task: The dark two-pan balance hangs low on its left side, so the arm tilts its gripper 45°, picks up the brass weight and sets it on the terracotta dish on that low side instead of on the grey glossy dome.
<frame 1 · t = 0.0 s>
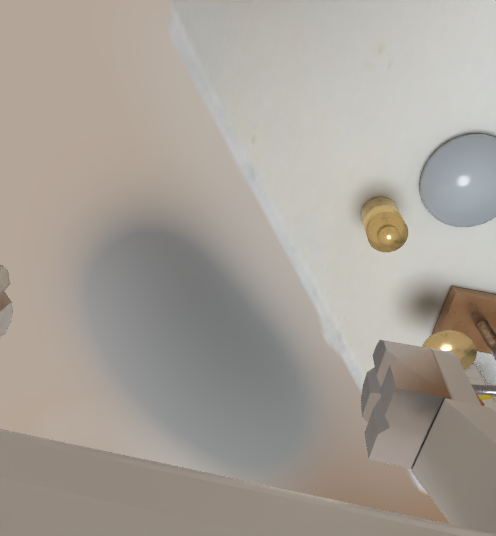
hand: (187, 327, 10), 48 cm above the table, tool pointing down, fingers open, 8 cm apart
grey glossy dome: (467, 180, 54), on the table
ink box: (467, 387, 67), on the table
balance: (477, 318, 62), on the table
brass weight: (379, 213, 57), on the table
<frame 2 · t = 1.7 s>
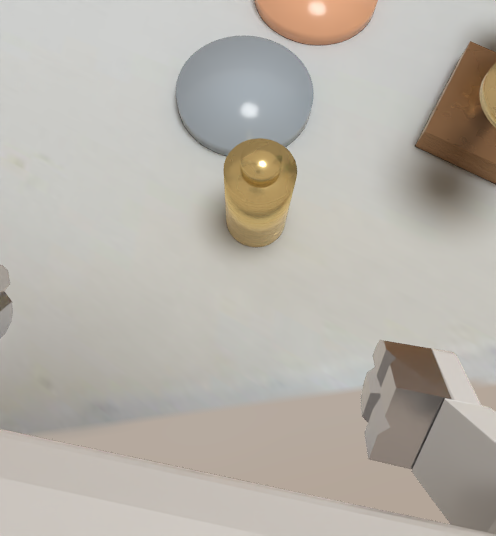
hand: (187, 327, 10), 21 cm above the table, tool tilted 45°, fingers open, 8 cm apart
grey glossy dome: (244, 99, 37), on the table
balance: (483, 121, 37), on the table
brass weight: (255, 219, 34), on the table
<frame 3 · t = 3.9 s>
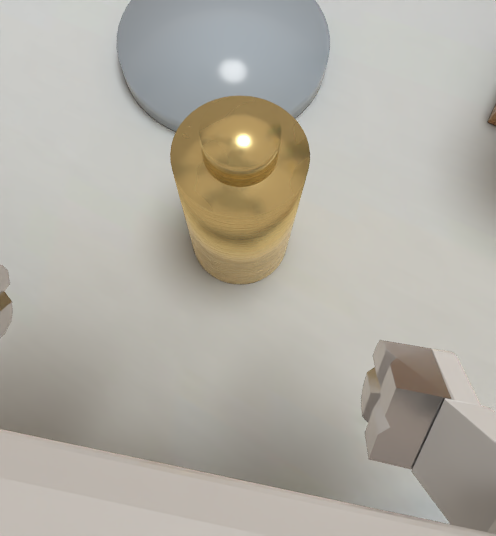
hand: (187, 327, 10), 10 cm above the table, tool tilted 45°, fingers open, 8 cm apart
grey glossy dome: (224, 54, 24), on the table
brass weight: (240, 239, 21), on the table
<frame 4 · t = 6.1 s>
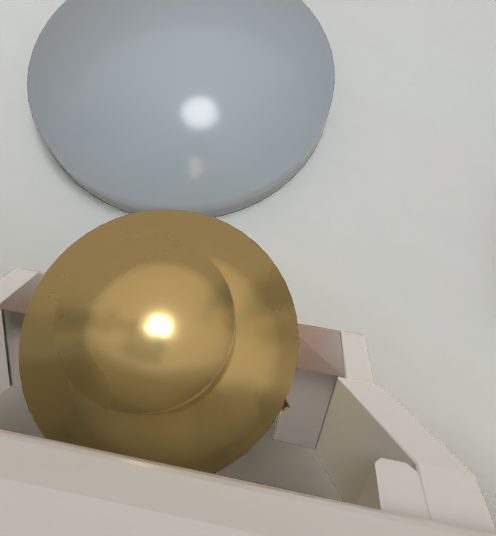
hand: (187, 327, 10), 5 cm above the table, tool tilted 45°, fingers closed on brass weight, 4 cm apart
grey glossy dome: (186, 90, 17), on the table
brass weight: (199, 375, 14), on the table, touching gripper
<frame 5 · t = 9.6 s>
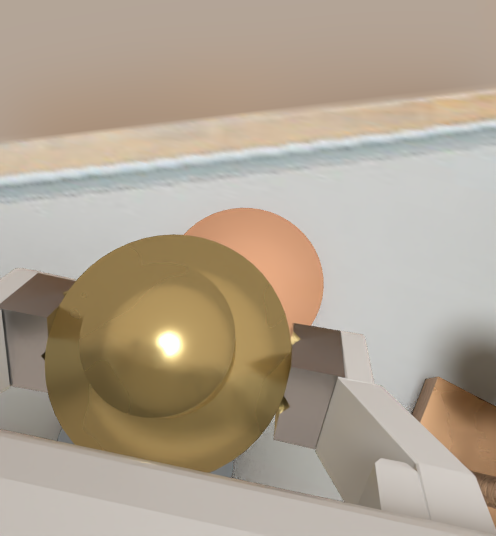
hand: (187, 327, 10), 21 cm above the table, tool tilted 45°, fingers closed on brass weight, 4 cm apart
grey glossy dome: (147, 456, 29), on the table
terracotta dish: (244, 284, 32), on the table
balance: (456, 481, 29), on the table
brass weight: (201, 380, 15), point 16 cm above the table, touching gripper
when the fingers open (7 cm above the table, at t = 13.3 s): brass weight stays where it is, resting on terracotta dish.
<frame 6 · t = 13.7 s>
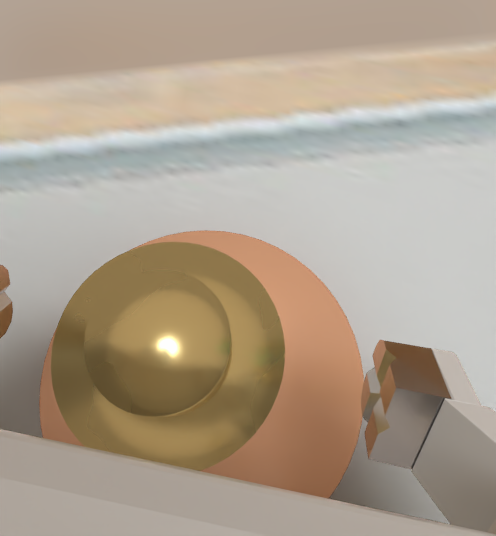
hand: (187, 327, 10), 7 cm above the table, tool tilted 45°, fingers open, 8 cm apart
terracotta dish: (205, 381, 16), on the table
brass weight: (200, 380, 15), point 1 cm above the table, touching terracotta dish
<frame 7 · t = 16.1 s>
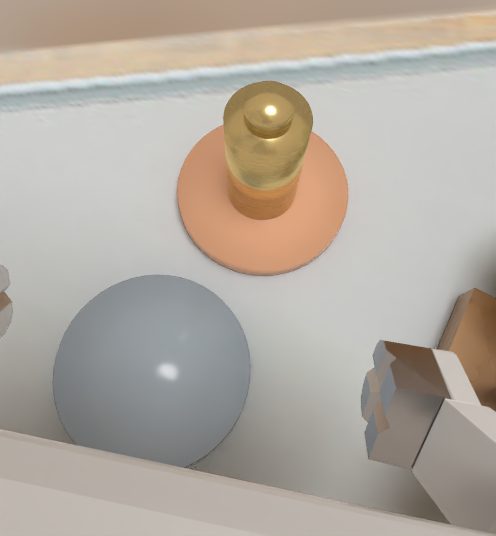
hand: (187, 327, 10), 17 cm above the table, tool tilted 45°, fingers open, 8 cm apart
grey glossy dome: (156, 370, 26), on the table
terracotta dish: (262, 197, 30), on the table
balance: (493, 402, 26), on the table
brass weight: (261, 189, 29), point 1 cm above the table, touching terracotta dish
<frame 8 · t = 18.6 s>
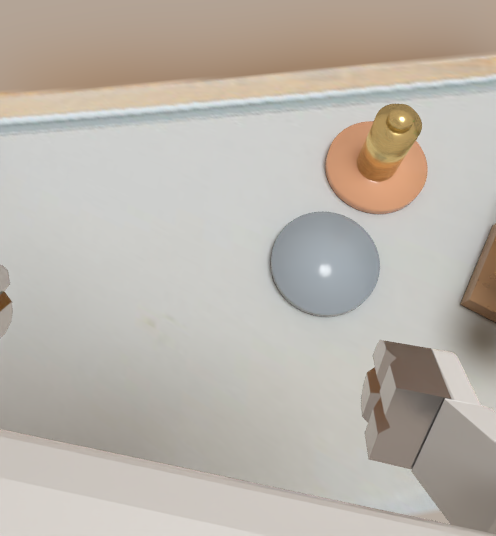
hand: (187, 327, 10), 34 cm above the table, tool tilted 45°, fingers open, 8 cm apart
grey glossy dome: (323, 264, 47), on the table
terracotta dish: (374, 169, 50), on the table
brass weight: (376, 163, 49), point 1 cm above the table, touching terracotta dish
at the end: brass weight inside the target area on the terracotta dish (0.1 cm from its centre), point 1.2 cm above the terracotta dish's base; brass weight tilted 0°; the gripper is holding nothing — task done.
